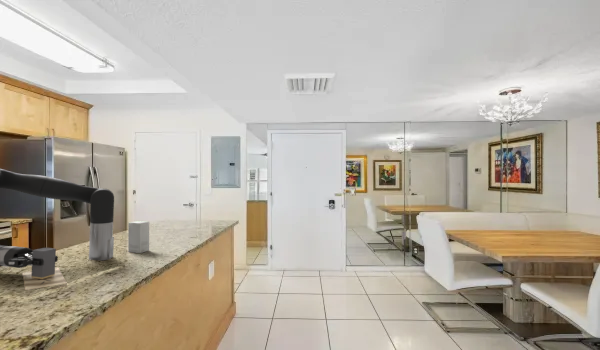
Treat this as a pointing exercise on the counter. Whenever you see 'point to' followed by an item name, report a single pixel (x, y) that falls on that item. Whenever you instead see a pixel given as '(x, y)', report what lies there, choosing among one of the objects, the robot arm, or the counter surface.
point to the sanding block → (49, 263)
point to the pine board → (44, 281)
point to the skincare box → (138, 236)
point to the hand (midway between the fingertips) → (49, 260)
